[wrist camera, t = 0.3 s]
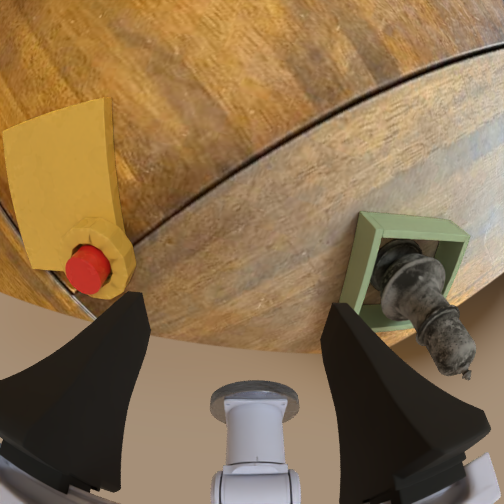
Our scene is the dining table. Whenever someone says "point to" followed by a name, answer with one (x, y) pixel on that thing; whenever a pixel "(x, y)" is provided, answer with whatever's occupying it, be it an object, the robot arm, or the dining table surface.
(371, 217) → the green square tray
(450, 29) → the dining table surface
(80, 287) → the stop button
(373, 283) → the chess piece
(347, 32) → the dining table surface
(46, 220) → the control block
